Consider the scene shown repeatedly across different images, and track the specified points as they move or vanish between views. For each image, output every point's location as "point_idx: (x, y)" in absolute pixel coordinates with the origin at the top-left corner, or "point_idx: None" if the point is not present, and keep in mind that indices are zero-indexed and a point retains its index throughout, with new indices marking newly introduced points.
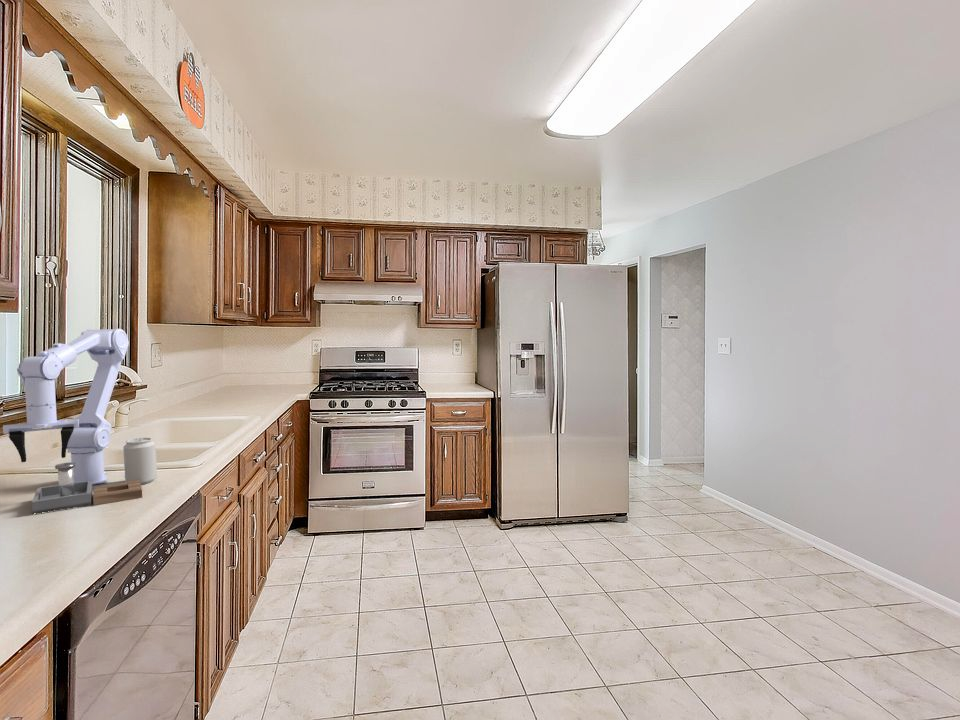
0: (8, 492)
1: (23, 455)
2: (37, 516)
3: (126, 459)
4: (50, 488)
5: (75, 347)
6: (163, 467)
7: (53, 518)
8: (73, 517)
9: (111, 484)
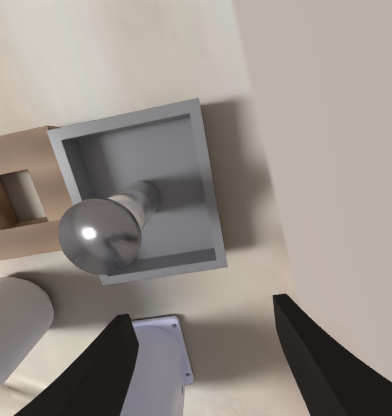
0: None
1: (290, 315)
2: (182, 81)
3: None
4: (196, 261)
5: None
6: (22, 397)
7: (130, 35)
8: (75, 16)
9: (50, 251)
